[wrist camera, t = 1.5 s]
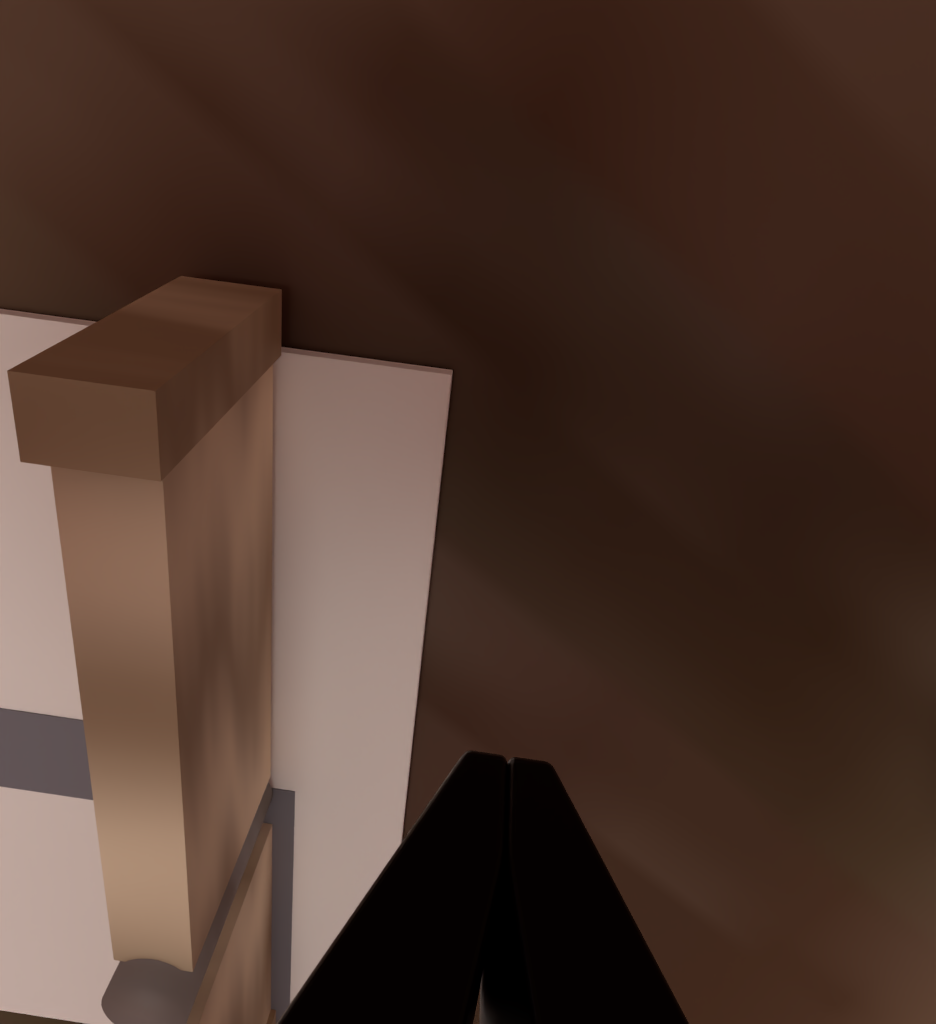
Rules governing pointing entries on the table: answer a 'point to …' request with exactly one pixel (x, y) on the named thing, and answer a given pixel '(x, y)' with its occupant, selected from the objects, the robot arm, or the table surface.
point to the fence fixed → (242, 950)
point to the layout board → (294, 671)
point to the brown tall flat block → (166, 607)
